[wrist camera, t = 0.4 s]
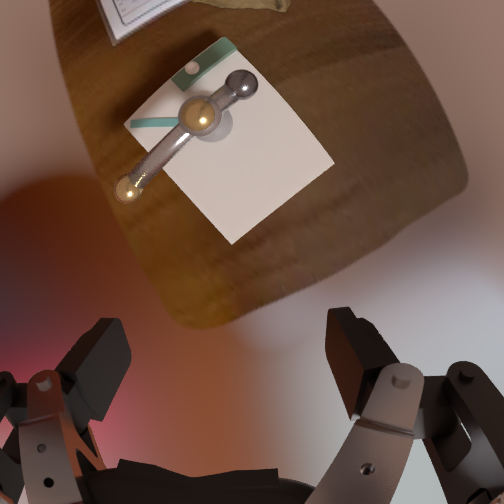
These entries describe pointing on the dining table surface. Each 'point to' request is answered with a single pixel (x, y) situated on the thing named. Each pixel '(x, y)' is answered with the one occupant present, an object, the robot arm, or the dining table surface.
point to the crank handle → (187, 131)
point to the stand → (233, 144)
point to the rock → (249, 4)
